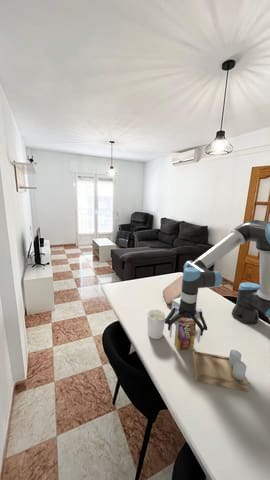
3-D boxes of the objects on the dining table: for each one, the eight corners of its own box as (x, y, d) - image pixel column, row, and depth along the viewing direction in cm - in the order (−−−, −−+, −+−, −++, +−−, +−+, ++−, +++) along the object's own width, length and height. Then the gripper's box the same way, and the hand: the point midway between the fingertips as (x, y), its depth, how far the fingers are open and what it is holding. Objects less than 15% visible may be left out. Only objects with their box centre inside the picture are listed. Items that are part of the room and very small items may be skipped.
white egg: (237, 362, 88) (239, 350, 87) (240, 370, 84) (242, 358, 82) (227, 360, 89) (229, 348, 87) (229, 368, 84) (231, 356, 83)
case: (161, 293, 154) (162, 274, 151) (187, 293, 155) (189, 274, 152) (166, 308, 134) (168, 286, 131) (196, 308, 135) (199, 287, 132)
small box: (177, 324, 117) (179, 304, 114) (170, 318, 122) (172, 299, 119) (187, 320, 121) (189, 300, 118) (179, 314, 126) (181, 296, 124)
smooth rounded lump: (241, 373, 82) (244, 361, 81) (245, 382, 78) (248, 370, 77) (230, 371, 83) (232, 359, 82) (233, 380, 79) (236, 368, 77)
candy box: (190, 343, 102) (193, 317, 98) (193, 349, 98) (196, 322, 94) (173, 343, 101) (176, 317, 98) (176, 350, 97) (178, 323, 93)
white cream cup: (149, 341, 102) (151, 321, 99) (144, 329, 111) (145, 310, 108) (167, 338, 104) (168, 318, 102) (160, 327, 114) (161, 308, 111)
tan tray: (237, 364, 89) (238, 359, 89) (247, 391, 77) (249, 385, 76) (192, 356, 93) (193, 351, 92) (195, 381, 81) (196, 374, 80)
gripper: (214, 299, 95) (208, 337, 99) (162, 292, 99) (159, 329, 104) (217, 307, 88) (211, 348, 92) (161, 299, 92) (158, 338, 97)
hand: (184, 338), depth 98 cm, fingers open, 13 cm apart
